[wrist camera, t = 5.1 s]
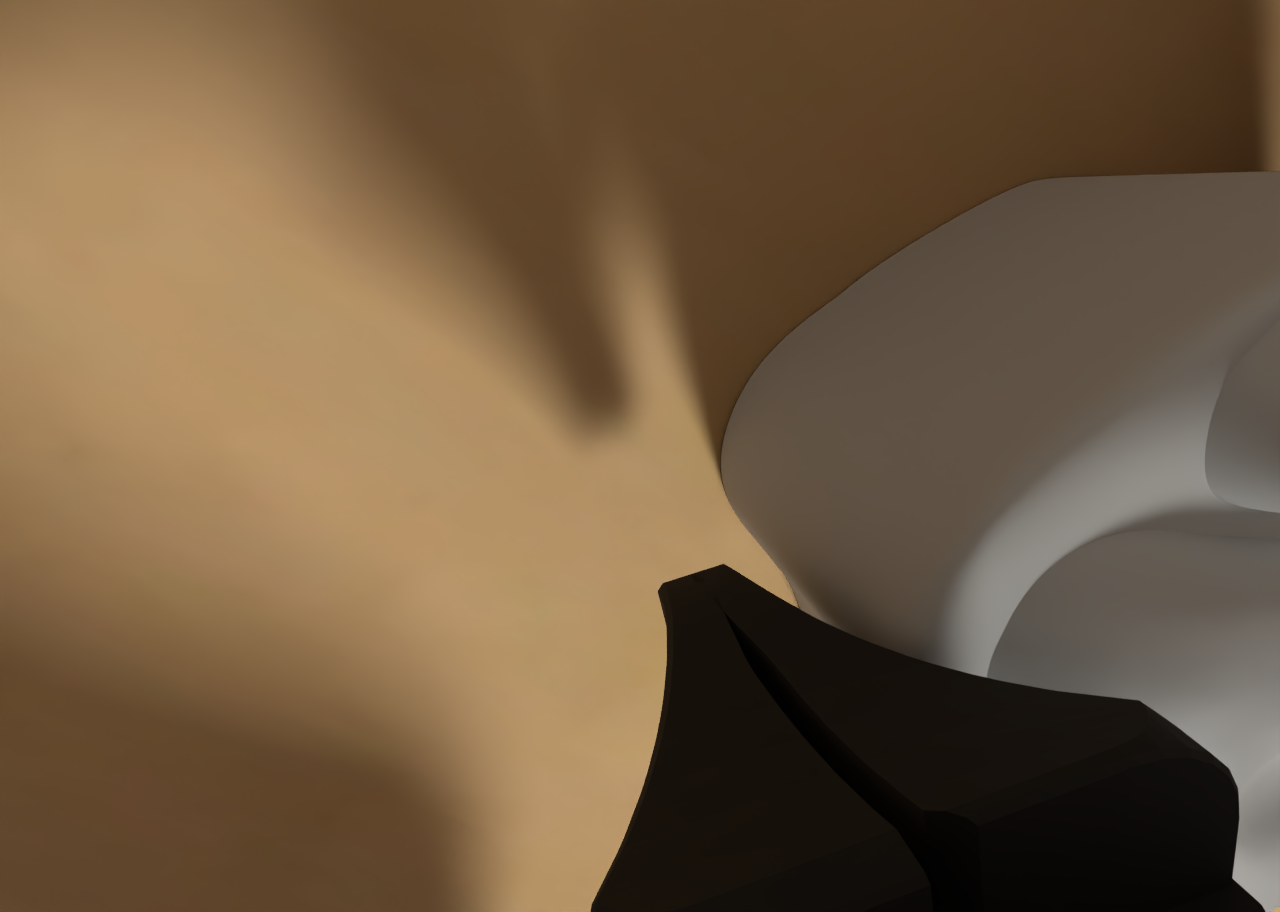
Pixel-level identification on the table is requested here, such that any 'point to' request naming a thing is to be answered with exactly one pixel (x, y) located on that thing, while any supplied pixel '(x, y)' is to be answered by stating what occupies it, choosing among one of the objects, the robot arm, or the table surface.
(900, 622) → the lumpy-topped squat cylinder
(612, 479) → the table surface
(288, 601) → the table surface
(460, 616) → the table surface
